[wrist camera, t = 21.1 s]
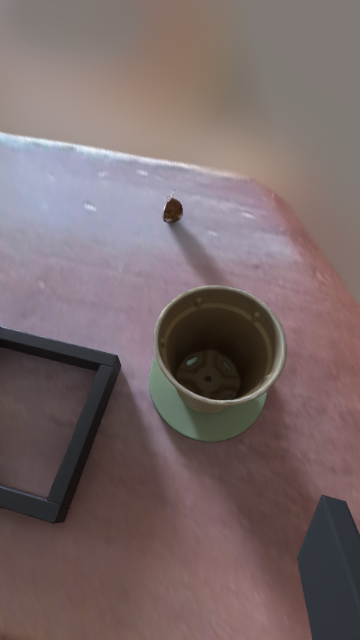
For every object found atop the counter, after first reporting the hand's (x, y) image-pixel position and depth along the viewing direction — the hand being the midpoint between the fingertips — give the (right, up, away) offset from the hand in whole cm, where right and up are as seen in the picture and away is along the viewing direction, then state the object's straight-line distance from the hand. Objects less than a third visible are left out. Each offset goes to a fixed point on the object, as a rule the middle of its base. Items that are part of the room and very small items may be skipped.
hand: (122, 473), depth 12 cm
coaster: (+5, 0, +20) cm, 21 cm away
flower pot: (+5, 0, +20) cm, 20 cm away
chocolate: (+1, +18, +30) cm, 35 cm away
